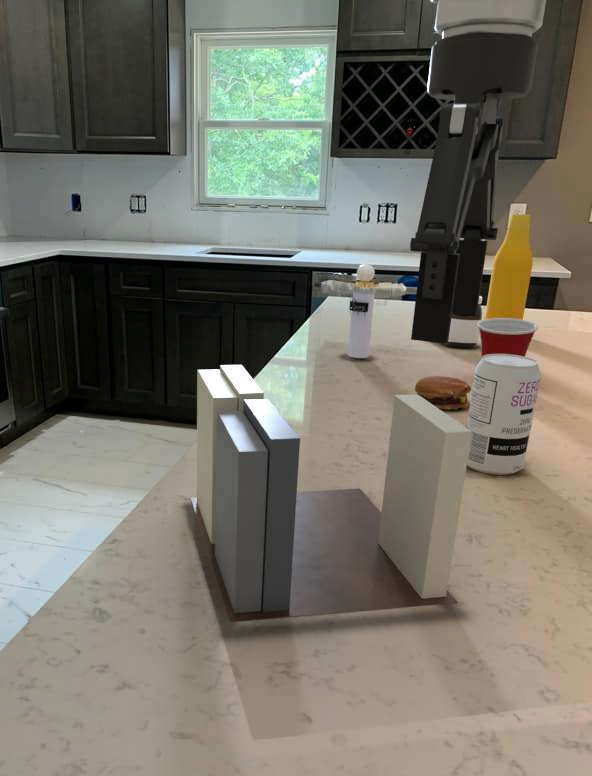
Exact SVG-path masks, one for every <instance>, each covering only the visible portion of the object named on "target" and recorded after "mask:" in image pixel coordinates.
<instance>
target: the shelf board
mask: <svg viewBox="0 0 592 776" xmlns="http://www.w3.org/2000/svg"><path fill="white" fill-rule="evenodd" d="M189 499H190V503H191V506H192V509H193V512H194V515H195V518H196V521H197V525H198V529H199V532H200V535H201V537H202V540H203V545H204V547H205V550H206V553H207V556H208V559H209V562H210V566H211V569H212V572H213V575H214V579H215V581H216V584H217V587H218V588H217V589H218V591H219V594H220V597H221V600H222V604H223V607H224V610H225V613H226V616H227V619H228V622H229V623H240V622H252V621H263V620H264V621H265V620H276V619H277V620H278V619H286V618H297V617H308V616H309V617H311V616H322V615H334V614H335V615H336V614H344V613H345V614H347V613H357V612H367V611H369V612H370V611H379V610H381V611H382V610H391V609H392V610H393V609H404V608H416V607H428V606H439V605H451V604H458V602H459V601H457V599H456V598H455V597H454V596H453V595H452V594H451V593H450V591H449V590H448V589H447V593H446V597H438V598H426V599H422V598H421V597H420V596H419V595H418V593H417V592H416V591H415V590H414V588H413V587H412V586H411V584H410V583H409V582H408V581H407V579H406V578H405V577H404V575H403V574H402V573H401V572H400V570H399V569H398V568H397V567H396V565H395V564H394V563H393V561H392V560H391V559H390V558H389V556H388V555H387V554H386V552H385V551H384V550H383V549H382V547H381V546H380V545H379V543H378V539H379V530H380V521H381V512H382V511H380V510H379V509H378V507H377V506H376V505H375V504H374V503H373V501H372V500H370V498H369V497H368V496H367V495H366V494H365V492H364V491H363V490H362V488H343V489H326V490H324V489H323V490H309V491H297V497H296V513H295V529H294V545H293V561H292V577H291V593H290V609H289V610H285V611H273V612H263V611H262V609H261V611H257V612H245V613H234V611H233V608H232V605H231V602H230V599H229V596H228V593H227V590H226V587H225V584H224V581H223V578H222V575H221V572H220V569H219V566H218V563H217V560H216V557H215V544H211V542H210V539H209V536H208V533H207V530H206V527H205V524H204V521H203V518H202V515H201V512H200V509H199V506H198V503H197V496H196V497H189Z"/></svg>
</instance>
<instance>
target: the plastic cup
mask: <svg viewBox="0 0 592 776" xmlns="http://www.w3.org/2000/svg"><path fill="white" fill-rule="evenodd" d="M477 326H478V328H479V330H480V333H479V339H480V356H481V357H480V359H481V360H482V357H483V356H485V355H489V354H511V355H519V356H524V357H526V354H527V353H528V352H527V351H528V349H529V346H530V344H531V341H532V339H533V337H534V335H535V333H536V331H537V330H538V329H539V325H538V324H537V323H534V322H532V321H530V320H525V319H523V320H521V319H511V318H494V319H486V320H484V319H481V321H480V322H478V323H477ZM481 360H480V361H481Z"/></svg>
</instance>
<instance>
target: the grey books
mask: <svg viewBox="0 0 592 776" xmlns="http://www.w3.org/2000/svg"><path fill="white" fill-rule="evenodd" d="M300 445H301V438H300V436H299V435H298V434H297V432H296V431H295V430H294V429H293V427H292V426H291V425H290V424H289V422H288V420H286V419H285V417H284V416H283V415H282V413H280V411H279V410H278V408H276V406H275V405H274V404H273V402H272V401H271V400H270V399H269V398H264V399H249V400H244V402H243V411H222V412H217V446H216V511H215V557H216V560H217V563H218V566H219V569H220V572H221V575H222V578H223V581H224V584H225V587H226V590H227V593H228V596H229V599H230V602H231V605H232V608H233V611H234V613H245V612H257V611H261V609H262V611H263V612H273V611H285V610H289V609H290V593H291V577H292V561H293V545H294V529H295V513H296V497H297V492H298V481H299V480H298V479H299V462H300V447H301V446H300Z"/></svg>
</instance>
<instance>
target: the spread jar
mask: <svg viewBox="0 0 592 776" xmlns="http://www.w3.org/2000/svg"><path fill="white" fill-rule="evenodd" d="M482 301H483V296H482V295H480V296H479V303H478V309H477V315H476V316H470V315H460V314H452V317H451V325H450V332H449V340H448V342H447V343H443V345H444V346H446V347H448V348H452V349H453V348H454V349H461V350H462V349H463V350H469V349H470V350H471V349H475V348H476V347H478V343H479V339H480V330H479V328H478V326H477V323H478V322H480V321H482V320H483V319H482V318H483V308H482V305H481V304H482V303H483V302H482Z"/></svg>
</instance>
